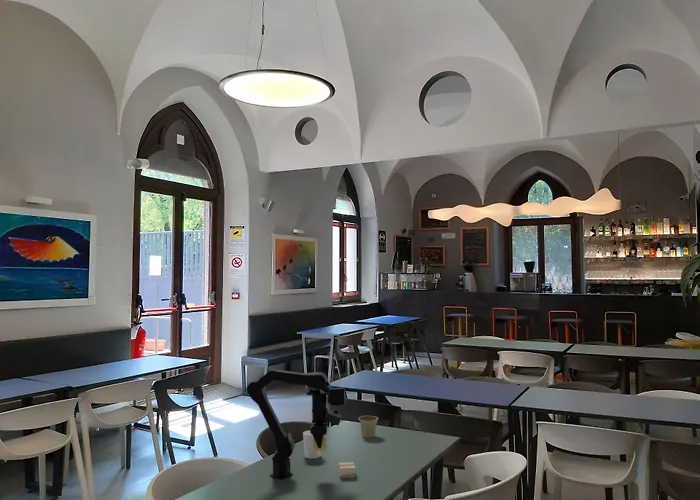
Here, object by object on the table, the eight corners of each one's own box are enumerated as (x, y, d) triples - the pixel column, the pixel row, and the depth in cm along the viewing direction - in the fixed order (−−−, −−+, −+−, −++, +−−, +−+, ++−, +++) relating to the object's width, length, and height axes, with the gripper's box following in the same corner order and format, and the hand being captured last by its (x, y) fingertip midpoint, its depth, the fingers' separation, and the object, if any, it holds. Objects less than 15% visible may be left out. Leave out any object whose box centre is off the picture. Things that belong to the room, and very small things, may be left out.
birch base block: (355, 478, 213) (355, 467, 213) (339, 478, 213) (339, 468, 213) (353, 472, 219) (353, 462, 219) (338, 473, 219) (338, 462, 219)
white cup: (299, 457, 237) (299, 433, 237) (309, 452, 244) (309, 429, 244) (315, 460, 233) (315, 436, 234) (325, 454, 240) (324, 431, 241)
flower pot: (381, 435, 267) (381, 417, 268) (372, 440, 259) (372, 421, 260) (365, 432, 272) (364, 414, 273) (355, 437, 264) (354, 419, 265)
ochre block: (326, 450, 214) (326, 437, 214) (313, 450, 214) (313, 437, 214) (326, 446, 219) (326, 433, 219) (314, 446, 219) (313, 433, 219)
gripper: (339, 411, 207) (340, 453, 207) (340, 399, 226) (340, 438, 226) (309, 411, 207) (310, 454, 207) (312, 400, 226) (313, 438, 225)
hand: (319, 445), depth 216 cm, fingers closed on ochre block, 5 cm apart
